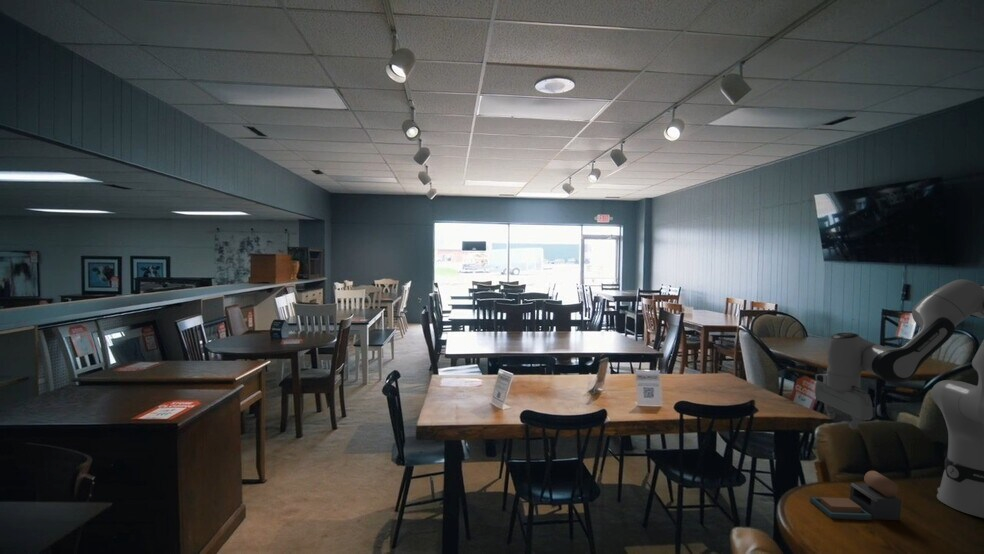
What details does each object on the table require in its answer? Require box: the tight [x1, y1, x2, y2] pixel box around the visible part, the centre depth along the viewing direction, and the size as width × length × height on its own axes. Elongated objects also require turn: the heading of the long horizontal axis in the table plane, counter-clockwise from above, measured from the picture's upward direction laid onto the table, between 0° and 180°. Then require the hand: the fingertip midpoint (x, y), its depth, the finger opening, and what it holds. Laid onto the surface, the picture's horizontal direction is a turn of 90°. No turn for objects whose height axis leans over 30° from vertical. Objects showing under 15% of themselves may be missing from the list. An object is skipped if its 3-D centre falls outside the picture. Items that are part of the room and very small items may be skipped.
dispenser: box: [849, 470, 902, 521], centre depth 138 cm, size 8×9×11 cm
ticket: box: [819, 496, 861, 513], centre depth 138 cm, size 9×5×2 cm, turn 89°
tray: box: [809, 496, 872, 521], centre depth 138 cm, size 12×9×2 cm
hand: (841, 422), depth 147 cm, fingers open, 8 cm apart
